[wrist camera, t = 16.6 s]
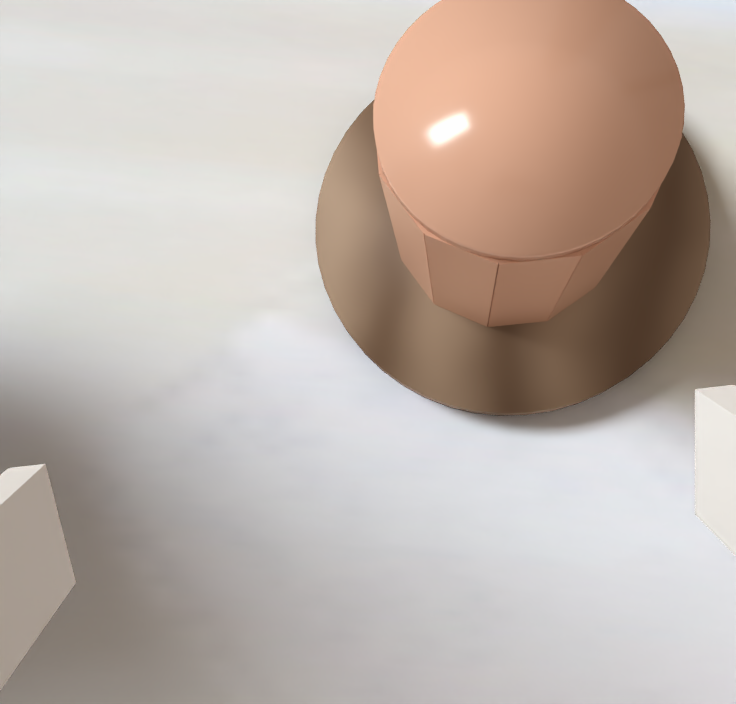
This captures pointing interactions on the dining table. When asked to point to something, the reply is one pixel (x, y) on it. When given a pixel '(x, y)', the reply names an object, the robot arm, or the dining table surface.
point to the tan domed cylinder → (523, 148)
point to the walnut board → (509, 342)
